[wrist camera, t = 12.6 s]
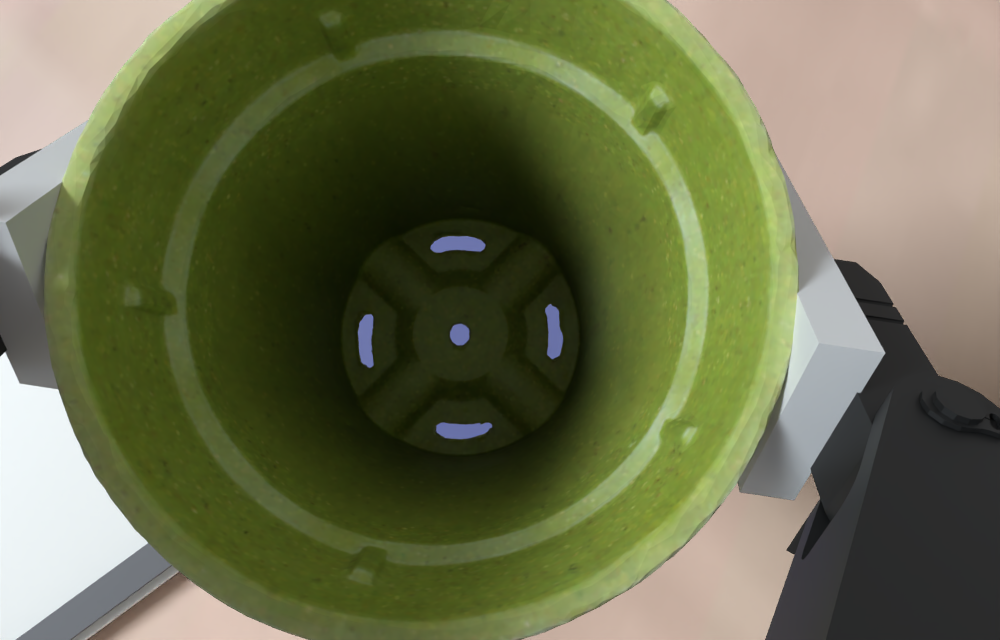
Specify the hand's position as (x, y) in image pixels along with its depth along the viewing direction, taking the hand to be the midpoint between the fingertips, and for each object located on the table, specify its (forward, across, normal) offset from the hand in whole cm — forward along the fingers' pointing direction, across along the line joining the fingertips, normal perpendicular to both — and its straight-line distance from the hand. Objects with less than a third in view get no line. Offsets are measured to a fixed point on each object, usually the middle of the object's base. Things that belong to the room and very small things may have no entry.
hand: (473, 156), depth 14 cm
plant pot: (+1, 0, -5) cm, 5 cm away
